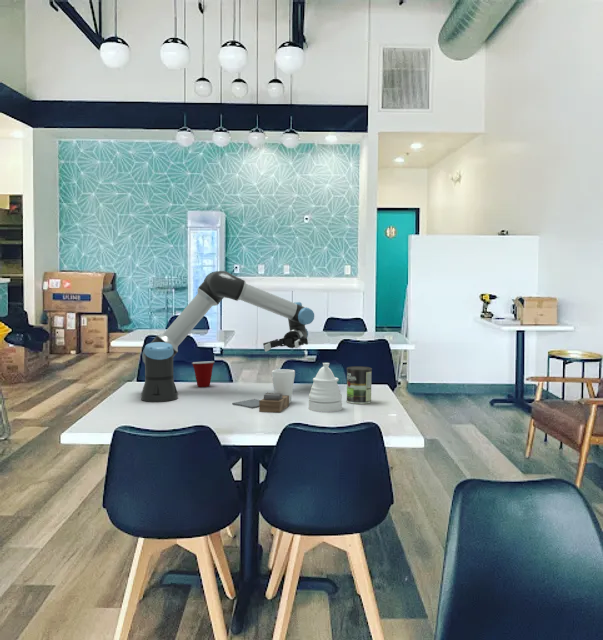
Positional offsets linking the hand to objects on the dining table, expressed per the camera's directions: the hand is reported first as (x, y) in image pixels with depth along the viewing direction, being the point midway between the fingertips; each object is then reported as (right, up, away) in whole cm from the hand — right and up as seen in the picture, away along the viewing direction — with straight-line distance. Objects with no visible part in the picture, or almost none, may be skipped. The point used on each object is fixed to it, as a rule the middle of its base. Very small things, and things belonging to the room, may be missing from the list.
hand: (280, 346), depth 261 cm
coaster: (-10, -22, -14) cm, 29 cm away
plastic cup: (-38, -20, +31) cm, 53 cm away
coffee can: (+33, -22, -10) cm, 41 cm away
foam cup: (+2, -22, -10) cm, 25 cm away
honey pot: (+18, -23, -23) cm, 38 cm away
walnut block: (-1, -23, -23) cm, 33 cm away
